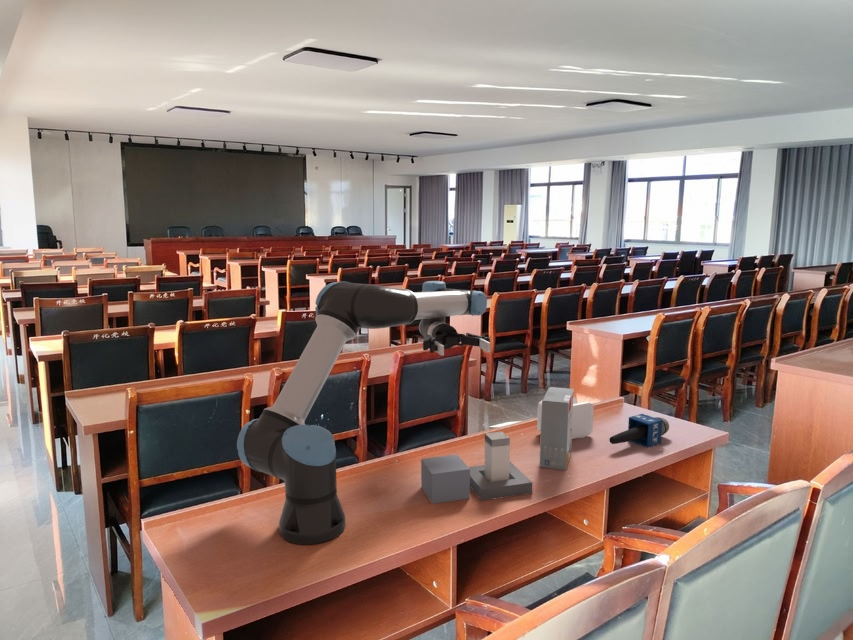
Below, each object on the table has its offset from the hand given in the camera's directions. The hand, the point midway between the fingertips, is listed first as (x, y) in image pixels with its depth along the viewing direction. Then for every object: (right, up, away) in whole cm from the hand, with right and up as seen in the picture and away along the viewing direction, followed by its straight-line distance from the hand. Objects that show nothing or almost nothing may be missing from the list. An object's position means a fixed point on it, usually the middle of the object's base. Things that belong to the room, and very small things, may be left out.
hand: (466, 349), depth 168 cm
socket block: (+8, -36, -5) cm, 37 cm away
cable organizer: (+34, -30, +32) cm, 55 cm away
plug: (+8, -36, -5) cm, 37 cm away
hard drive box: (+27, -33, +12) cm, 45 cm away
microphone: (+56, -31, +24) cm, 68 cm away
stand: (-6, -37, -9) cm, 38 cm away
